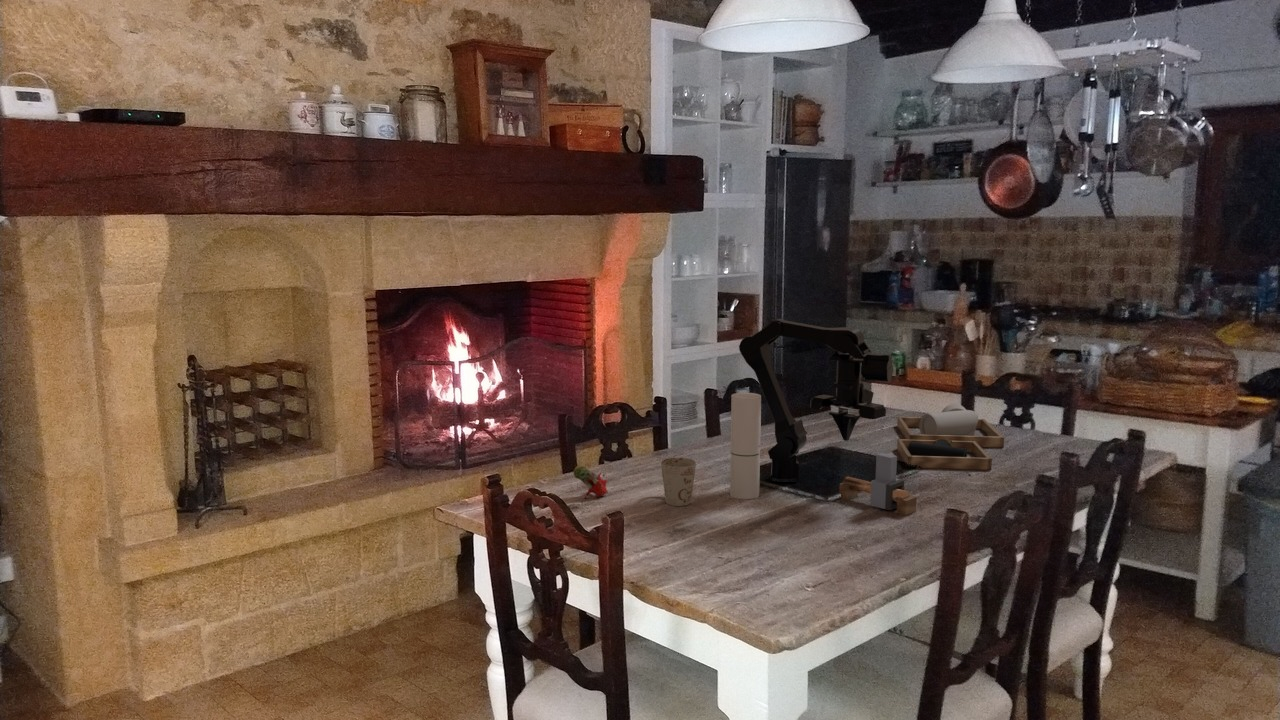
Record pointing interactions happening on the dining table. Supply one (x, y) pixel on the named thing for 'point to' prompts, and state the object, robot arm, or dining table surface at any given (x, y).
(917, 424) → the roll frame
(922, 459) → the wooden tray
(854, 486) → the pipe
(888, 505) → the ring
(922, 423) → the elbow connector
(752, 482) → the cylindrical container
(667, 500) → the beige paper cup
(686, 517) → the dining table surface
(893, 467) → the sleeve
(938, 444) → the pipe connector
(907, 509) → the cradle
